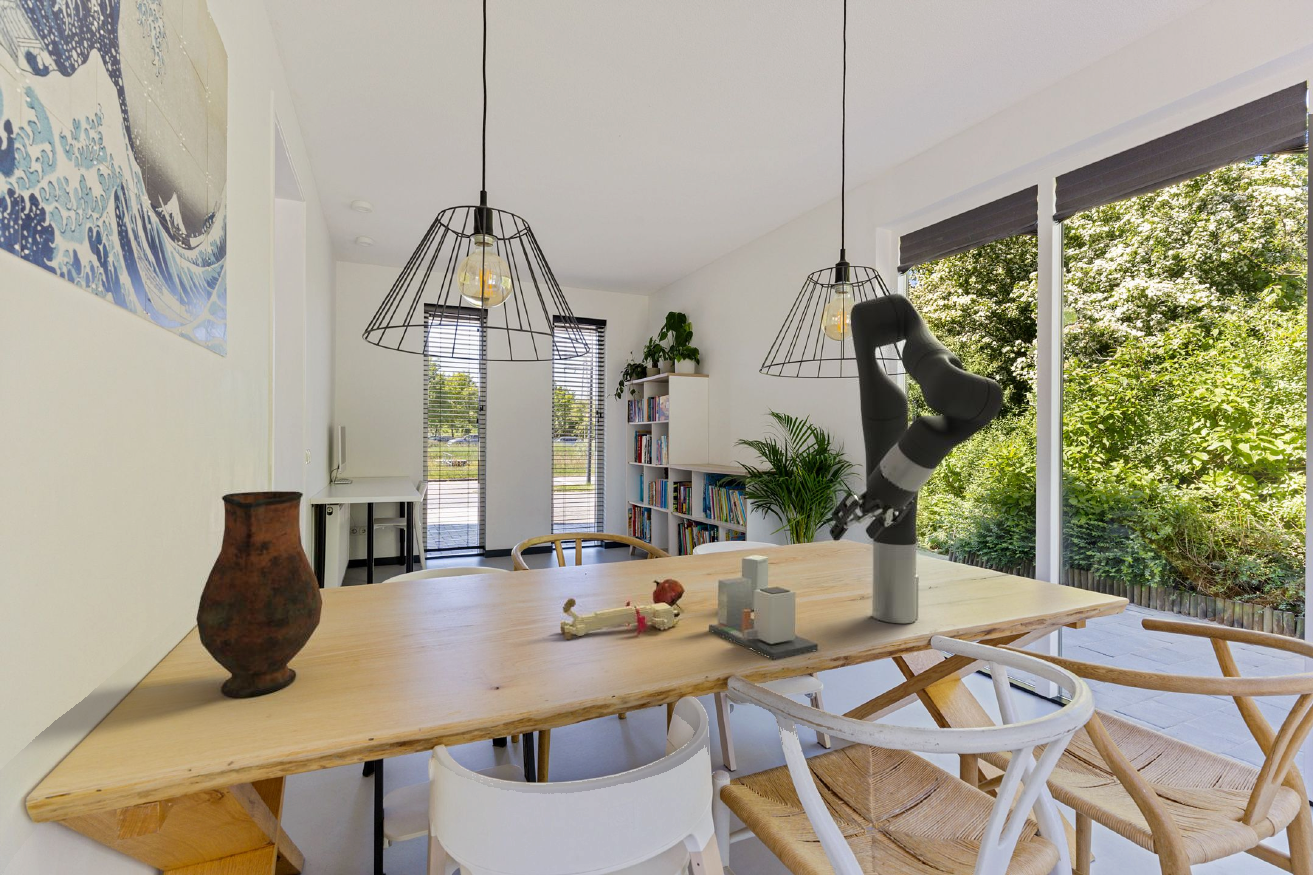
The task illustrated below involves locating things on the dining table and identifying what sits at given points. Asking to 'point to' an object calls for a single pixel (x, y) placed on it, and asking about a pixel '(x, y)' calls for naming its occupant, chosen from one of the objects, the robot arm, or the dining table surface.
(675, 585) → the pomegranate
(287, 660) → the brown clay vase
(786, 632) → the dark-topped white block
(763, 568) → the skincare box
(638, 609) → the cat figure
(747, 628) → the peak pointer
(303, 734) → the dining table surface
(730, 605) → the base
